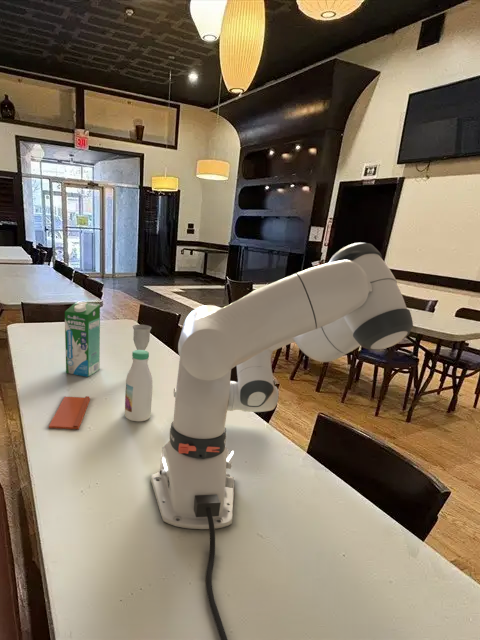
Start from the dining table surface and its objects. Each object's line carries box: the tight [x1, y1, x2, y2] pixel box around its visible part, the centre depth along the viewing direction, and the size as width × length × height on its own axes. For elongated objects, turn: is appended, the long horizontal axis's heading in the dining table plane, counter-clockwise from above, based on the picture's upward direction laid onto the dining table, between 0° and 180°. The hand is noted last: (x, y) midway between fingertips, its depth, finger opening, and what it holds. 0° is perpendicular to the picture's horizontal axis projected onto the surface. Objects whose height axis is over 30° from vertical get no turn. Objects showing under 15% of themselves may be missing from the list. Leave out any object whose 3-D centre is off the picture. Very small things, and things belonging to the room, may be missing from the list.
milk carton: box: [64, 300, 101, 378], centre depth 149 cm, size 9×9×25 cm
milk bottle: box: [124, 349, 153, 422], centre depth 118 cm, size 8×8×20 cm
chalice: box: [132, 324, 152, 351], centre depth 152 cm, size 7×7×18 cm
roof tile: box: [48, 395, 91, 430], centre depth 121 cm, size 20×8×1 cm, turn 2°
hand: (173, 392), depth 120 cm, fingers closed
